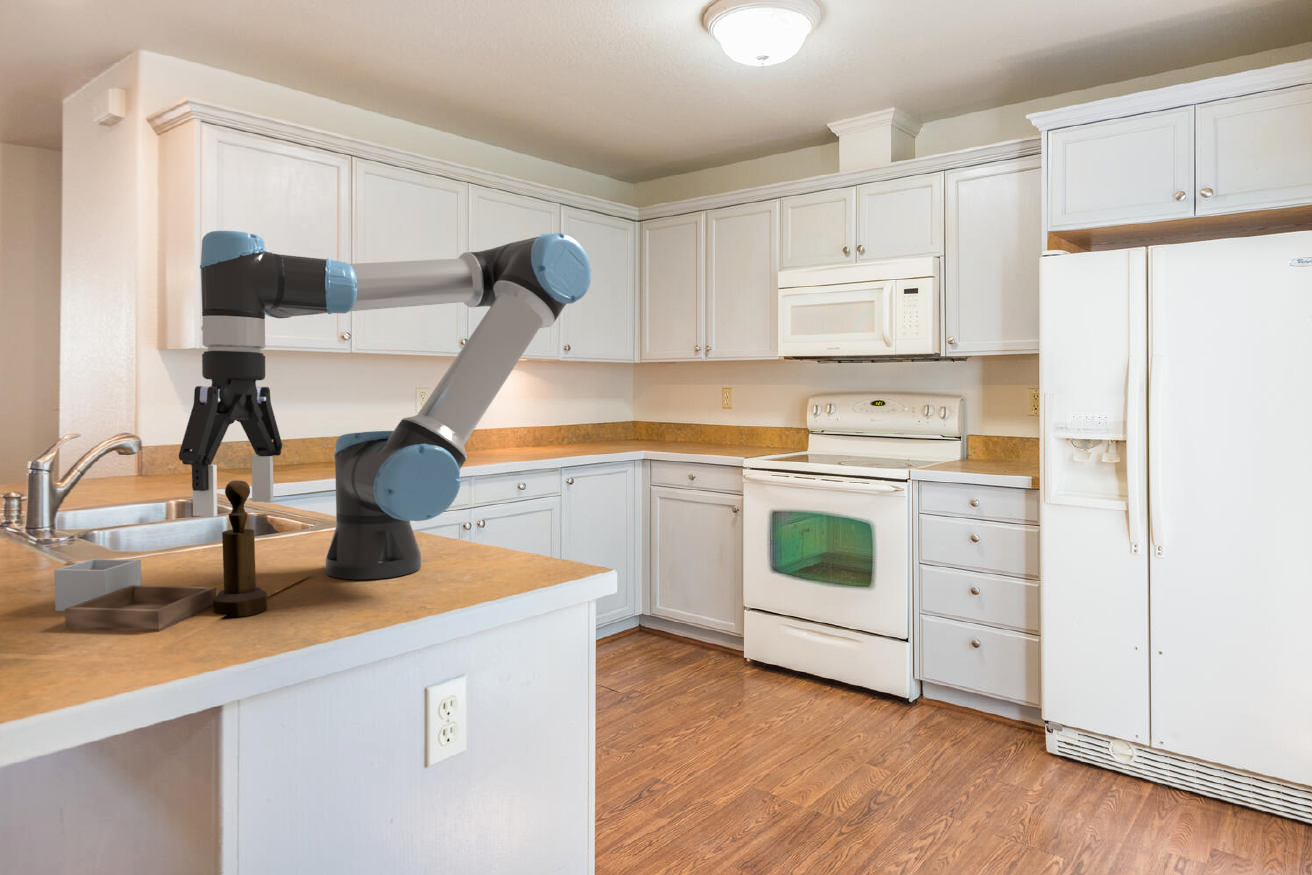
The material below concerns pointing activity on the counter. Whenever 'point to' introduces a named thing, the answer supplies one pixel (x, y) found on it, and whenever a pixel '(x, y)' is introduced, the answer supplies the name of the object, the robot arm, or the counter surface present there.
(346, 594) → the counter surface
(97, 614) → the walnut tray
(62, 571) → the grey tub
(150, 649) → the counter surface
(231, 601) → the brown wooden tall piece
